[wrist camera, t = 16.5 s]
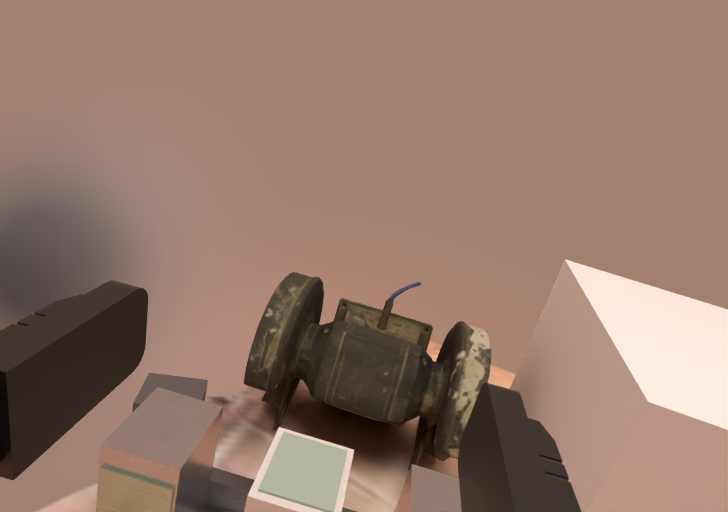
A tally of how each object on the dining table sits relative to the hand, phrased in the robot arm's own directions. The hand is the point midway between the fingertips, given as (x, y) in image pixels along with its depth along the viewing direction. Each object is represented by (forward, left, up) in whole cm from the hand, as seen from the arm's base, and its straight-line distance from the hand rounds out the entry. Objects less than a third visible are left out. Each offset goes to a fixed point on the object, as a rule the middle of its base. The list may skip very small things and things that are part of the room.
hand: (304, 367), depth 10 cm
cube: (-27, -22, -28) cm, 45 cm away
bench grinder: (-3, -33, -28) cm, 43 cm away
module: (0, -14, -27) cm, 30 cm away
